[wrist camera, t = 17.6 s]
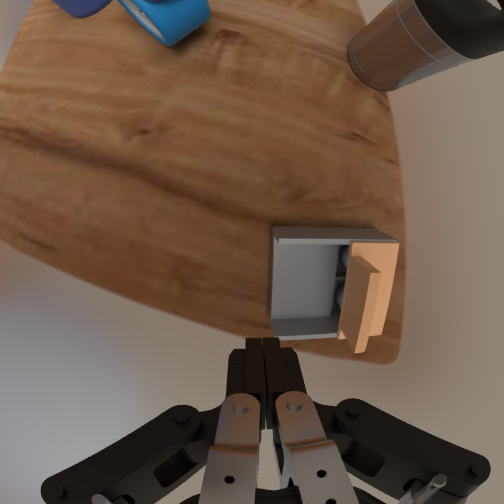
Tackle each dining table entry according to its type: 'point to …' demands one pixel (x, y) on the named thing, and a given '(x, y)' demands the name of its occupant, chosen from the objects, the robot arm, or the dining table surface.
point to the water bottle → (82, 7)
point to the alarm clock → (168, 17)
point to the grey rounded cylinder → (339, 294)
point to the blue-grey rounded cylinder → (344, 254)
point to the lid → (367, 291)
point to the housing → (309, 278)
